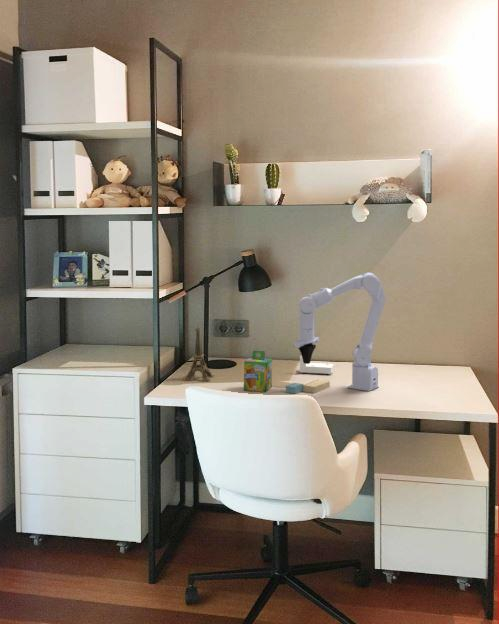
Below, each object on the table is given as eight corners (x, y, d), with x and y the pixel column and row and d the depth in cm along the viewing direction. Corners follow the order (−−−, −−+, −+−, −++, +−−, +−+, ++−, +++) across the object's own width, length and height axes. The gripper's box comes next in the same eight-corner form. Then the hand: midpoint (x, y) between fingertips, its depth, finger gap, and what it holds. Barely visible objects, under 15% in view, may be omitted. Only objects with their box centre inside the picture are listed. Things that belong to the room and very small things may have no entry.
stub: (303, 390, 292) (303, 383, 292) (294, 393, 288) (294, 387, 287) (294, 388, 295) (294, 382, 294) (285, 392, 290) (285, 385, 290)
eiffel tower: (189, 375, 319) (188, 315, 316) (214, 376, 318) (213, 316, 314) (183, 381, 309) (181, 319, 305) (208, 382, 307) (208, 320, 304)
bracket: (299, 374, 321) (299, 356, 320) (303, 370, 327) (303, 353, 326) (330, 376, 317) (330, 358, 316) (333, 372, 324) (333, 354, 323)
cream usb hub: (329, 387, 297) (329, 381, 297) (314, 393, 288) (314, 386, 288) (318, 385, 300) (318, 379, 300) (303, 391, 291) (303, 384, 291)
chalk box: (243, 391, 292) (243, 353, 290) (249, 385, 301) (249, 348, 299) (267, 392, 290) (267, 354, 288) (272, 386, 299) (272, 349, 297)
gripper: (308, 324, 303) (308, 358, 305) (287, 330, 291) (287, 365, 293) (323, 326, 298) (323, 360, 300) (303, 332, 287) (303, 367, 289)
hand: (306, 363), depth 296 cm, fingers closed
